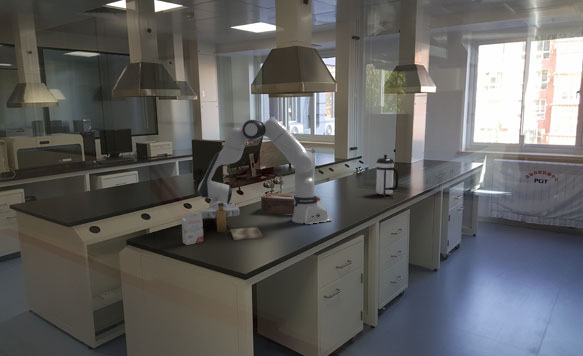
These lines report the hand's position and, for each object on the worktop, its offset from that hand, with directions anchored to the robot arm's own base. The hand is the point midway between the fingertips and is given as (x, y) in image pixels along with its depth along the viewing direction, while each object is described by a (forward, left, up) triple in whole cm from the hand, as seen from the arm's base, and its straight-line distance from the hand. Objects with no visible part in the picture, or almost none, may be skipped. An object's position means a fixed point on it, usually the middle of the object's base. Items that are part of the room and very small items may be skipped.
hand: (221, 216), depth 205 cm
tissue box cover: (-42, -32, -9) cm, 53 cm away
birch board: (-11, +9, -8) cm, 16 cm away
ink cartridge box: (+15, +14, -8) cm, 22 cm away
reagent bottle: (0, -1, -8) cm, 8 cm away
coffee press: (-126, -59, -8) cm, 139 cm away
